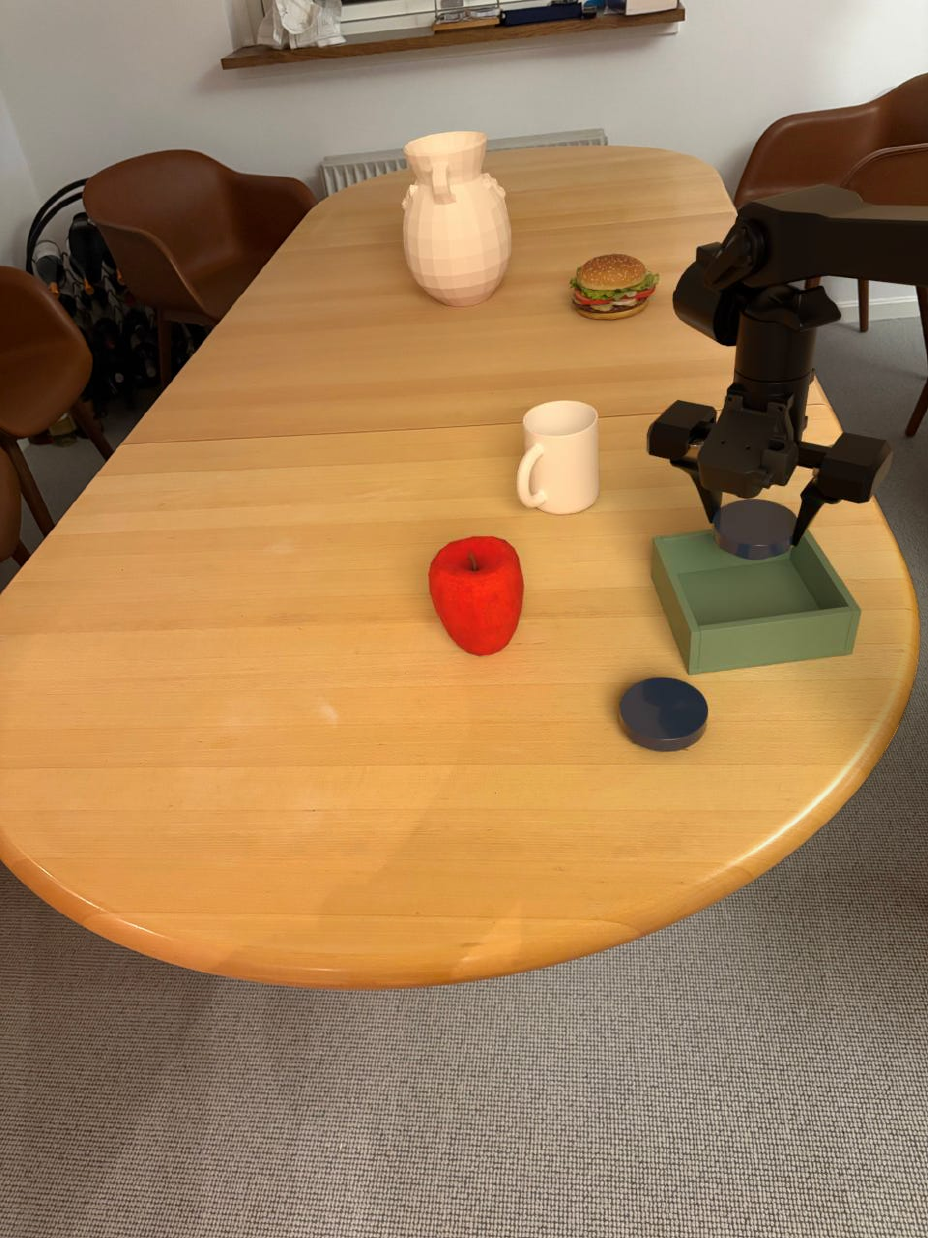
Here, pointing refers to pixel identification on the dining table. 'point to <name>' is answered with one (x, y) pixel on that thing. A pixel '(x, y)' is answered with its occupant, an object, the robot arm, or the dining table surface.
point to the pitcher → (455, 219)
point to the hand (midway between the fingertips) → (753, 532)
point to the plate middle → (663, 714)
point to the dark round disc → (754, 529)
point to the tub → (751, 604)
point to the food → (612, 287)
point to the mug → (560, 458)
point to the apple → (478, 592)
